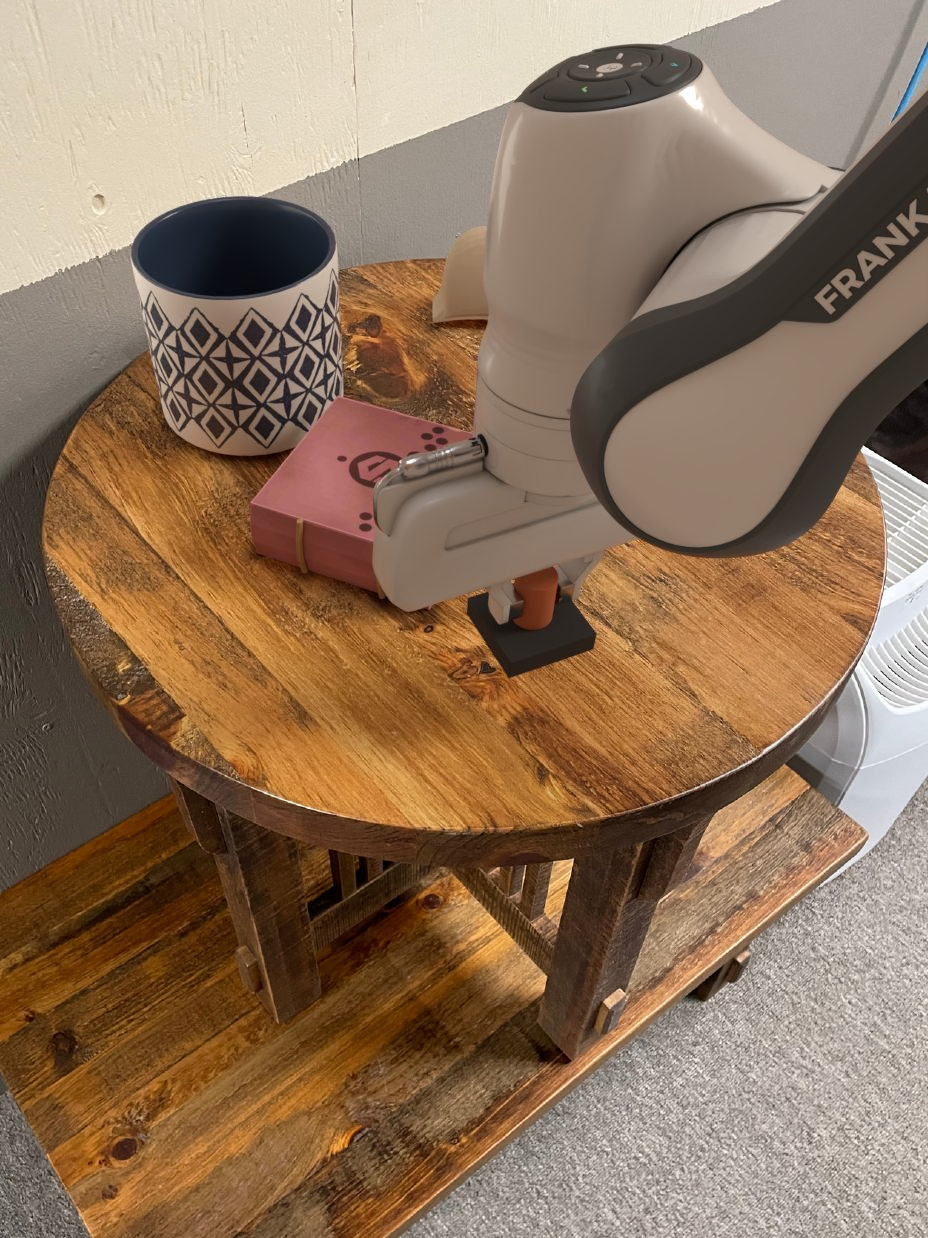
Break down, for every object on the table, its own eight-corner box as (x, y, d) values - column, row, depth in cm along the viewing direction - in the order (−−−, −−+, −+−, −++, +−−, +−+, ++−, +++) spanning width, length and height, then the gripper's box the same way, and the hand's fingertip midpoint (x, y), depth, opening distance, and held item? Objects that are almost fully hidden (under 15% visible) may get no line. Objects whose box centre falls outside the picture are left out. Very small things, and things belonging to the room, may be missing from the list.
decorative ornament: (434, 289, 99) (439, 207, 93) (560, 298, 99) (574, 217, 92) (430, 323, 96) (435, 240, 89) (561, 332, 95) (575, 250, 89)
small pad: (548, 587, 66) (556, 530, 62) (593, 649, 63) (606, 593, 59) (466, 613, 65) (470, 557, 61) (508, 678, 61) (515, 623, 57)
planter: (341, 349, 93) (334, 192, 82) (347, 457, 84) (340, 295, 72) (170, 355, 93) (139, 197, 81) (156, 464, 83) (118, 302, 72)
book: (251, 560, 76) (244, 509, 72) (340, 446, 84) (337, 395, 80) (424, 617, 72) (426, 567, 68) (499, 492, 81) (504, 441, 77)
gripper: (397, 507, 47) (399, 693, 58) (761, 401, 51) (699, 591, 62) (348, 431, 50) (359, 620, 61) (693, 338, 55) (645, 529, 66)
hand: (533, 605), depth 62 cm, fingers closed on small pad, 2 cm apart
